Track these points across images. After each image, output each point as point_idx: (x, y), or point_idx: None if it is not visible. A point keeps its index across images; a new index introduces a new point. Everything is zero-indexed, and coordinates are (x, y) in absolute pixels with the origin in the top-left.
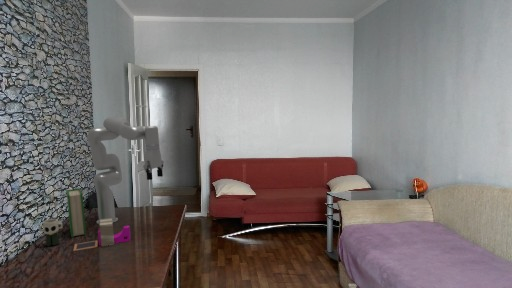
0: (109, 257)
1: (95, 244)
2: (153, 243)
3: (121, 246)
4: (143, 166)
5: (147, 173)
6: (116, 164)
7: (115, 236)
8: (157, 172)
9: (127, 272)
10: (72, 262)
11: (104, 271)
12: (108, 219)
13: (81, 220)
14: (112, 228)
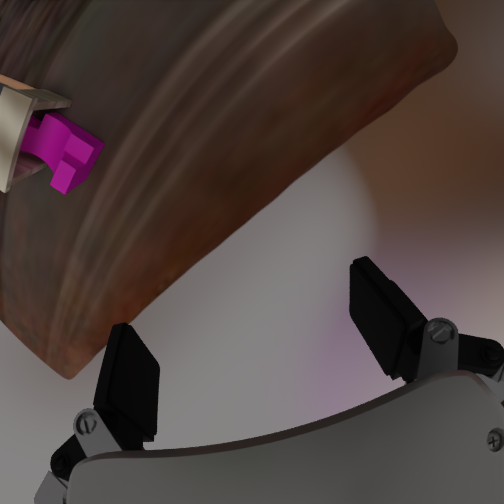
0: (17, 247)
1: None
2: (120, 263)
3: (52, 202)
4: (36, 499)
5: (99, 413)
6: None
7: (50, 145)
8: (378, 302)
9: (36, 332)
10: None
11: (7, 298)
12: (15, 115)
13: None
14: (15, 182)
